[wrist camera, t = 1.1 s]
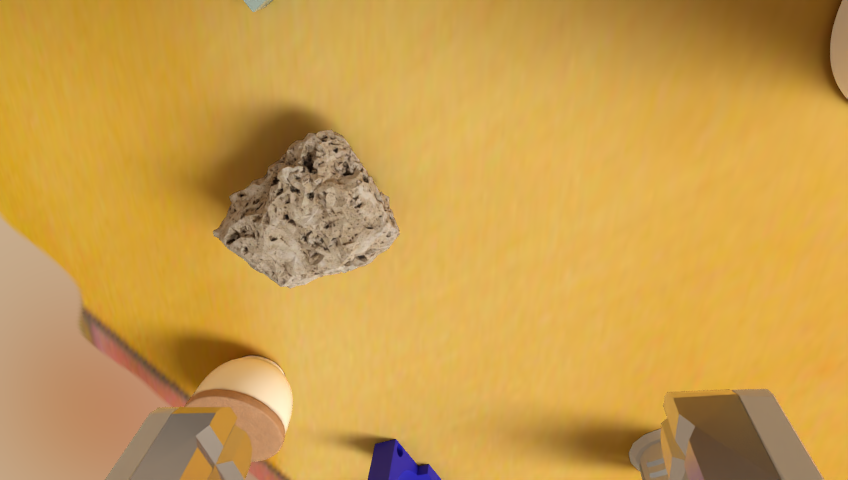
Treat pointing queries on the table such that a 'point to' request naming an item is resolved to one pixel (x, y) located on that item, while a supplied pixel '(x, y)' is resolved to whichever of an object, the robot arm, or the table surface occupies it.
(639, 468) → the french press
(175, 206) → the table surface
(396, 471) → the cable clip
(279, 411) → the lidded jar
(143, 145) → the table surface
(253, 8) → the tray
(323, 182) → the pumice stone
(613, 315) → the table surface
